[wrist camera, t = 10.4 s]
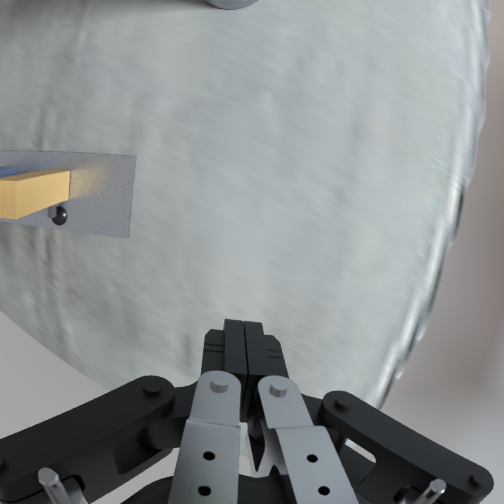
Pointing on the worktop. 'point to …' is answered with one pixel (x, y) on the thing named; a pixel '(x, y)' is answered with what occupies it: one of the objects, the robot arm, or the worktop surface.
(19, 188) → the block
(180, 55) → the worktop surface
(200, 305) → the worktop surface
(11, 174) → the fixed leg
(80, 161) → the bolt plate
